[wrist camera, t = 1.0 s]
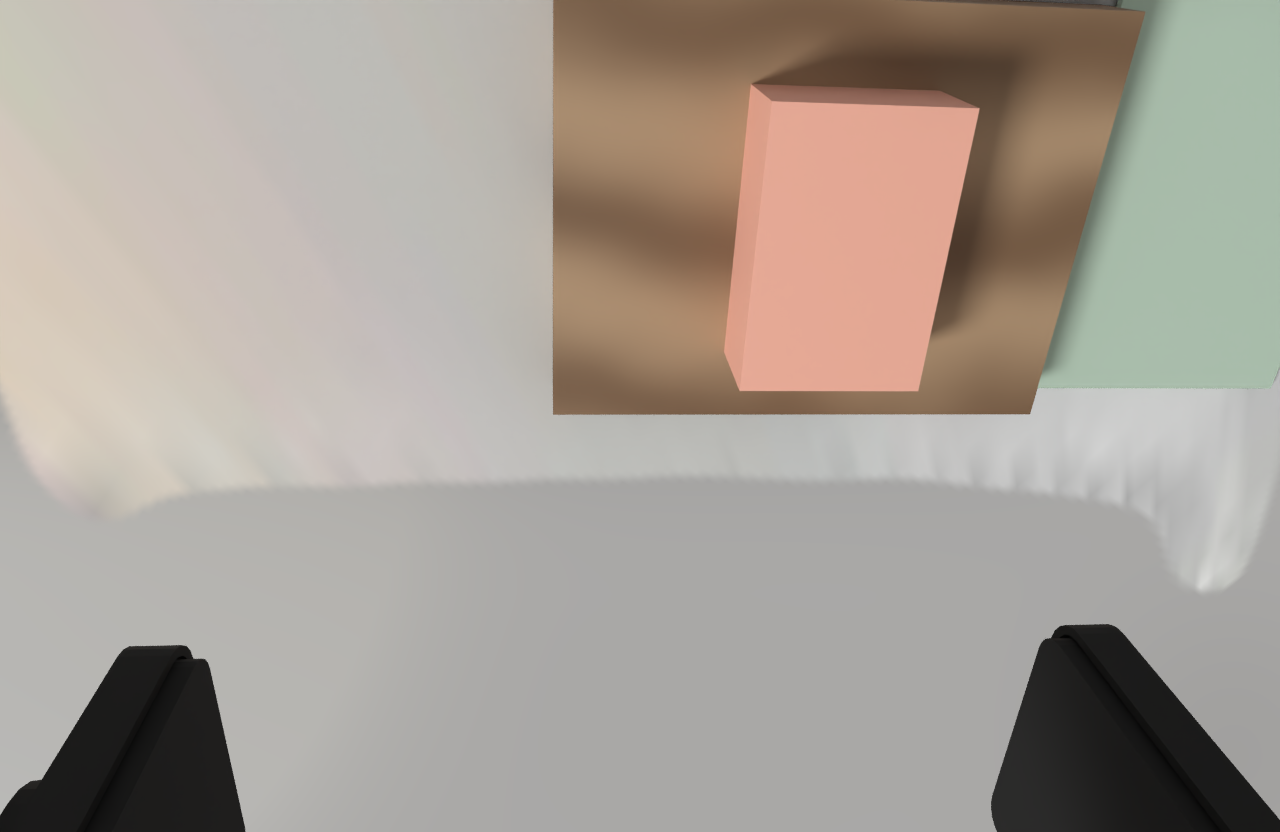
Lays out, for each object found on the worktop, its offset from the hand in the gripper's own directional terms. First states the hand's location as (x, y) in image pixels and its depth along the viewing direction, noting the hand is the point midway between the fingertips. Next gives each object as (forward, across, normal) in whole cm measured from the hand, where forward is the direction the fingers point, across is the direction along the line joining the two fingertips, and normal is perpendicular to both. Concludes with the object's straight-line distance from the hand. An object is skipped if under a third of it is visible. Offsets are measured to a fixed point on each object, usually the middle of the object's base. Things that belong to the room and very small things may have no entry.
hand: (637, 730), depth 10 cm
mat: (+24, -23, -1) cm, 33 cm away
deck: (+24, -8, 0) cm, 25 cm away
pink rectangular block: (+20, -8, 0) cm, 22 cm away
